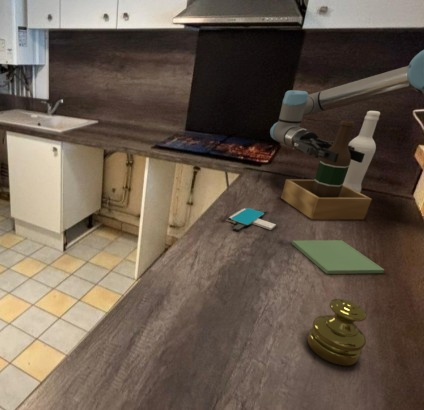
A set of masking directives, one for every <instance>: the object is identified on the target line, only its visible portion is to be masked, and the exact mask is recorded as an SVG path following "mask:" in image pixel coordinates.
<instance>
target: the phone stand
mask: <svg viewBox="0 0 424 410" xmlns="http://www.w3.org/2000/svg"><path fill="white" fill-rule="evenodd" d="M266 213H267V210H266V209H263V208H260V209H259V210H256V209H253V208H250V207H246V206H243V207H242V208H240V209H238V210H237V211H235V212H233V213H231V214H230V215H228V217H227V218H225V220H224V221H225V222H228V223H231V224H233V226H232V228H233V229H232V230H233V231H235V232H240V231H242V230H243V229H245V228H246V227H248V226H251V225H255V226H257V227H260V228H264V229H266V230H269V231H272V230H273V229H274V228H275V227H276V226H277V224H276V223H273V222H270V221H267V220H265V219H261V217H263V216H264V215H265V214H266Z"/></svg>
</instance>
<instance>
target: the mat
mask: <svg viewBox="0 0 424 410" xmlns="http://www.w3.org/2000/svg"><path fill="white" fill-rule="evenodd" d="M291 245H292V246H293V247H295V249H297V250H298V251H299V252H300V253H301V254H302V255H304V256H305V257H306V258H307V259H308V260H310V261H311V262H312V263H313V264H314V265H315V266H316V267H318V268H319V269H320V270H321V271H323V273H325V274H326V275H339V274H341V275H342V274H343V275H344V274H345V275H347V274H352V275H355V274H384V272H385V269H384V268H383V267H381V266H380V265H379V264H377V263H375V262H374V261H372V260H371V259H370V258H368V257H367V256H365V255H364V254H362V253H361V252H360V251H358V250H357V249H355V247H352V246H351V245H349V244H348V243H347V242H345V241H343V240H342V239H330V240H329V239H328V240H327V239H326V240H325V239H324V240H322V239H321V240H320V239H319V240H318V239H316V240H314V239H313V240H312V239H311V240H310V239H309V240H307V239H303V240H301V239H300V240H297V239H296V240H291Z"/></svg>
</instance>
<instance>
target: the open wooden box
mask: <svg viewBox="0 0 424 410" xmlns="http://www.w3.org/2000/svg"><path fill="white" fill-rule="evenodd" d="M314 180H315V179H291V178H290V179H288V178H286V179H285V181H284V185H283V189H282V193H281V197H280V198H281V200H283V201H284V202H286V203H287V204H289V205H290V206H291V207H293V208H294V209H296V210H297V211H299V212H300V213H302V214H303V215H304V216H306V217H307V218H309V219H310V220H365V217H366V216H367V213H368V210H369V207H370V205H371V202H372V200H373V199H372V198H371V197H369V196H367V195H365V194H363V193H361V192H360V193H359V192H357V191H355V190H353V189H351V188H349V187H347V186H345V185H343V186H342V189H341V192H340V194H339V197H338V198H320V197H318V196H316V195H314V194H313V193H311V191H312V186H313V183H314Z"/></svg>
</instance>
